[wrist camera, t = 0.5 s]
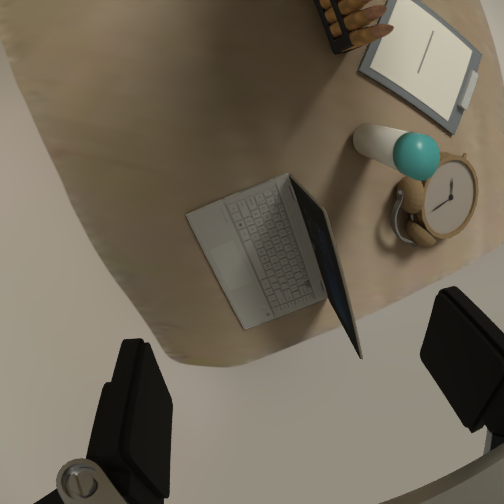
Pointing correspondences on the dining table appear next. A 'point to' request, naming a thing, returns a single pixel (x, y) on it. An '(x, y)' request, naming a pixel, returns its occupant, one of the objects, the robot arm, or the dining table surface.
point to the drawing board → (424, 62)
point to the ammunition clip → (351, 23)
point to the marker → (398, 149)
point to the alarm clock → (438, 201)
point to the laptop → (274, 253)
